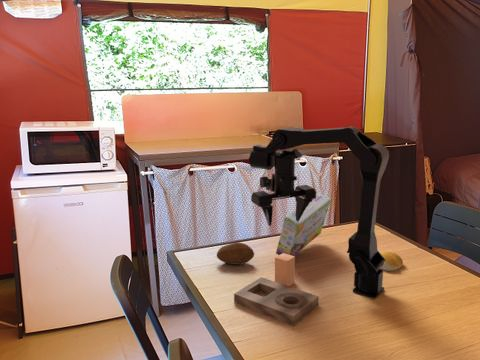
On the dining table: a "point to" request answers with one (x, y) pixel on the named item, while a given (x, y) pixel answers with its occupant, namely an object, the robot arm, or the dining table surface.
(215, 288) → the dining table surface
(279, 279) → the square peg
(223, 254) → the potato
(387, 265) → the bread roll
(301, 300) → the socket board
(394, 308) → the dining table surface
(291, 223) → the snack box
